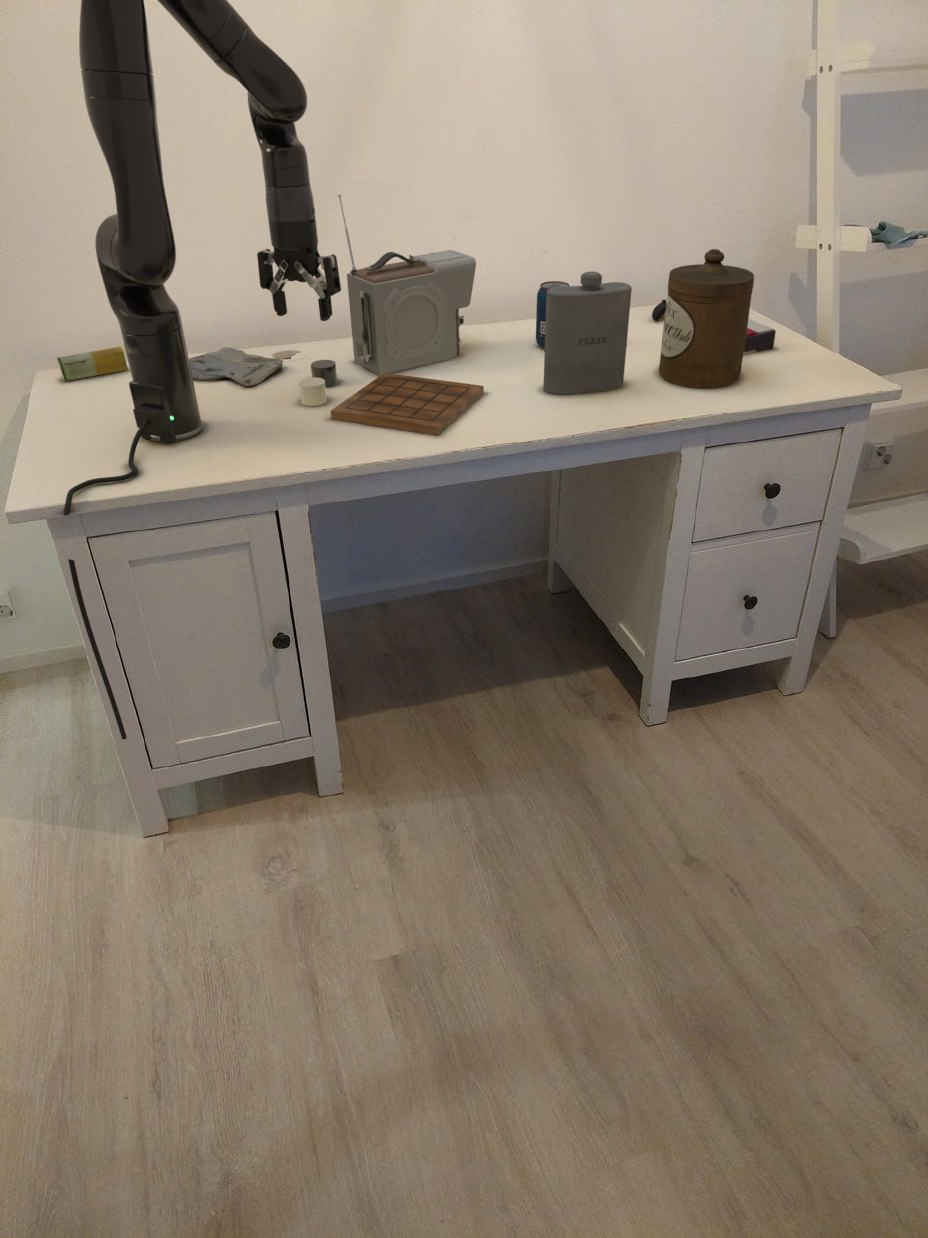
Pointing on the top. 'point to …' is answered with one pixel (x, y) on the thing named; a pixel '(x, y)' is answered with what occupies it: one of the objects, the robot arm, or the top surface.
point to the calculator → (759, 337)
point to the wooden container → (705, 323)
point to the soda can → (543, 310)
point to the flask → (586, 336)
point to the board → (408, 403)
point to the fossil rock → (233, 366)
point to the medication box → (92, 363)
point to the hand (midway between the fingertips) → (303, 317)
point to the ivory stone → (312, 391)
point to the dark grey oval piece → (659, 310)
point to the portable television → (408, 308)
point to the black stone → (325, 371)
